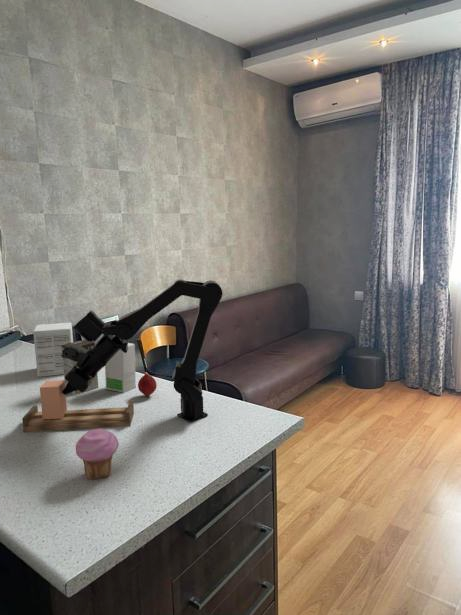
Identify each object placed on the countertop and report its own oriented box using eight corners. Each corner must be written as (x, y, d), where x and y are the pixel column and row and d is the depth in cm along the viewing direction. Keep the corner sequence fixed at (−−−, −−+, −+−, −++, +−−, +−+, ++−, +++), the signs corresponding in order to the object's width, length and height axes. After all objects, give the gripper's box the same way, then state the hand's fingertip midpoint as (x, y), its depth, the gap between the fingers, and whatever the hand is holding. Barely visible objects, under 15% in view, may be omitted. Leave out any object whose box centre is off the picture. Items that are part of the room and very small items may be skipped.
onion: (158, 393, 148) (157, 369, 146) (154, 399, 142) (153, 375, 141) (141, 392, 148) (140, 369, 147) (136, 399, 143) (134, 375, 141)
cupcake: (76, 487, 93) (73, 442, 92) (79, 467, 101) (75, 425, 100) (120, 481, 95) (118, 436, 94) (119, 461, 104) (116, 420, 102)
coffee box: (88, 383, 158) (84, 339, 156) (99, 387, 154) (95, 341, 152) (64, 391, 151) (60, 344, 149) (75, 395, 147) (71, 347, 145)
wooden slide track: (133, 413, 132) (133, 400, 131) (130, 426, 123) (129, 412, 122) (34, 418, 129) (33, 405, 128) (23, 432, 120) (22, 418, 120)
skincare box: (105, 389, 152) (102, 344, 150) (118, 383, 158) (116, 340, 155) (124, 393, 148) (121, 347, 146) (137, 387, 154) (135, 342, 152)
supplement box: (40, 367, 179) (36, 324, 177) (75, 364, 183) (71, 321, 180) (36, 377, 167) (32, 331, 164) (74, 373, 171) (70, 328, 168)
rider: (67, 413, 128) (64, 380, 126) (61, 421, 122) (58, 386, 121) (49, 414, 127) (46, 380, 126) (42, 422, 122) (39, 387, 120)
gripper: (86, 326, 131) (50, 364, 132) (70, 341, 113) (28, 385, 113) (115, 351, 133) (80, 389, 134) (104, 370, 115) (63, 413, 115)
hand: (63, 393), depth 124 cm, fingers closed, pressing on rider
